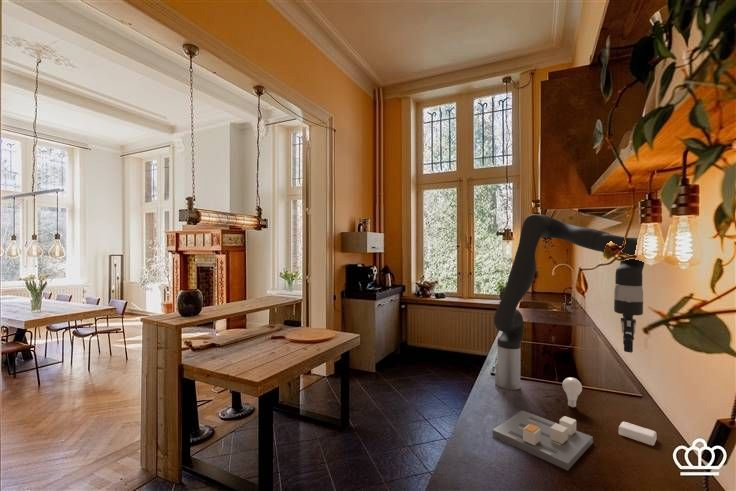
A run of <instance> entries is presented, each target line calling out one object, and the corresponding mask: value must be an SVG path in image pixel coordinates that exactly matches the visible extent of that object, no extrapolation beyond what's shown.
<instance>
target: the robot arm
mask: <svg viewBox="0 0 736 491" xmlns="http://www.w3.org/2000/svg"><path fill="white" fill-rule="evenodd" d="M624 237H625V236H620V235H617V234H611V233H610V232H606V231H604V230H599V229H595V228H590V227H584V226H579V225H575V224H569V223H566V222H563V221H560V220H558V219H556V218H553V217H551V216H548V215H546V214H538V213H537V214H535V213H533V214H529V215H527V216H526V218H525V219H524V221H523V223H522V226H521V231H520V237H519V241H518V246H517V249H516V252H515V256H514V260H513V261H512V262H513V263H512V265H511V268H510V270H509V274H508V279H507V281H506V285H505V286H504V287H505V288H504V291H503V292H502V297H501V299H500V302H499V304H498V306H497V309H496V311H495V313H494V316H493V324H494V326H495V328H496V329H497V330H498V331H499V332H502V333H501V335H500V336H499V337H498V338H497V341H496V342H497V346H496V347H497V351H496V352H497V353H496V356H497V357H496V362H495V363H494V364H495V365H494V366H495V367H494V368H495V369H494V381H495V382H494V384H495V385H496V386H498V387H499V388H502V389H503V390H509V391H516V390H517V391H518V390H519V389H521V343H522V342H523V338H524V337H523V336H524V317H523V314H522V313H521V312H520V311H519V310H518V309H517V307H518V305H519V303H520V301H522V299H523V298H524V296H525V295H526V294H527V293H528V291H529V290H530V288H531V287H532V285H533V282H534V278H535V276H536V272H537V263H536V262H537V261H536V250H537V247H538V244H539V242H540V240H541V239H544V238H550V239H551V238H552V239H559V240H563V241H567V242H569V243H571V244H574V245H576V246H579V247H581V248H585V249H589V250H592V251H596V252H601V253H603V254H605V253H604V249H605V246H606V244H607V243H609V242H610V241H612V242H613V243H615V244H617V245H618V246H622V244H623V241H624ZM637 239H639V238H638V237H627V238H626V244H625V248H624V249H623V250H622V252H623V253H626V254H629V255H634V254H635V250H636V245H637ZM644 266H645V263H644V262H642V261H639V260H635V259H629V260H625V261H621V260H620V263H619V266H618V267H617V268H616V270H615V277H614V278H615V279H614V281H615V284H614V285H615V286H614V290H613V291H614V293H613V295H614V296H613V297H614V298H613V305H614V306H613V311H614V312H615V313H616V314H621V315H622V317H620V325H621V327H620V329H621V333H622V334H623V337H622V340H623V341H622V343H623V351H624V352H626V353H629V354H630V353H633V351H634V343H633V342H634V340H635V334H636V327H637V320H636V319H635V318H634V316H642V315H643V314H644V289H643V269H644Z"/></svg>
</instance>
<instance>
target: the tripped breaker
mask: <svg viewBox="0 0 736 491" xmlns="http://www.w3.org/2000/svg"><path fill="white" fill-rule="evenodd" d="M523 441H526V442H528V443H530V444H532V445H536V444H537V443H538V442H540V441H541V429H540V428H539V427H537V426H535V425H532V424H529V425H527V426H526V427H525V428H523Z"/></svg>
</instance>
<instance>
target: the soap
mask: <svg viewBox="0 0 736 491" xmlns="http://www.w3.org/2000/svg"><path fill="white" fill-rule="evenodd" d="M618 434H619V435H620V436H622V437H626V438H629V439H632V440H635V441H637V442H641V443H644V444H646V445H648V446H655V444H656V441H657V437H658V436H657V434H658V433H657V432H656V431H655V430H653V429H650V428H646V427H642V426H639V425H636V424H633V423H630V422H626V421H622V422H620V425H619V426H618Z"/></svg>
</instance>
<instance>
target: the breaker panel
mask: <svg viewBox="0 0 736 491" xmlns="http://www.w3.org/2000/svg"><path fill="white" fill-rule="evenodd" d="M529 424H532V425H535V426H537V427H539V428H540V429H541V441H540V442H538V443H537V444H536V445H532V444H530V443H528V442H526V441H523V428H525V427H526V426H527V425H529ZM494 436H495V437H494ZM492 437H494V438H496V437H497V439H498V438H500V439H501V441H503V440H504V441H503V442H505V443H507V444H509V445H511V446H513V445H514V446H513V447H515V446H516V448H518V449H520V450H522V451H524V452H526V453H529V454H531V455H533V456H535V457H538V458H540V459H542V460H544V461H546V462H548V463H550V464H552V465H554V466H556V467H559V468H561V469H563V470H565V471H569V470H570V469H571V467H573V465H574V464H575V463H576V462H577V461H578V460H579V459H580V458H581V456H583V454H584V453H585V452H587V450H588V449H589V448H590V447H591V446H592V444H593V443H594V441H593V440H594V438H593V437H594V436H591V435H590V434H587V433H584V432H581V431H578V430H577V420H576V419H574V418H571V417H569V416H566V415H564V416H562V417H561V418H559V423H557V422H555V421H551V420H549V419H547V418H544V417H541V416H538V415H536V414H533V413H530V412H528V411H525V410H520V411H519V412H517V413H516V414H514V415H512V416H511V417H510V418H508V419H506V421H504V422H502V423H501V424H499V425H497V426H496V427H495V428H493V429H492ZM500 439H499V440H500Z"/></svg>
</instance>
